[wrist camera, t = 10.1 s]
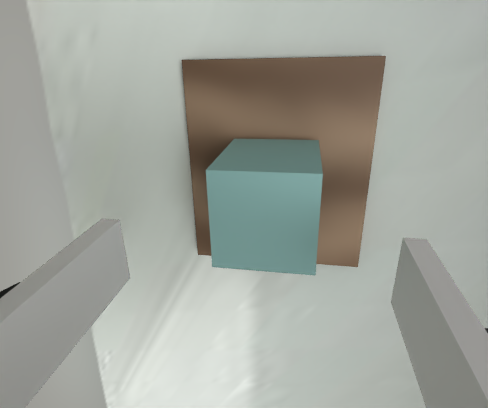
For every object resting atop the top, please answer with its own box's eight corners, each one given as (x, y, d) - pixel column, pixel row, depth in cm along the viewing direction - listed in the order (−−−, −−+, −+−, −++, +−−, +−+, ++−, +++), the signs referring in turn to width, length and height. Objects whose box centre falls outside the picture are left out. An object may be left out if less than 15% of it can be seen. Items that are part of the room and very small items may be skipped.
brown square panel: (186, 59, 22) (127, 61, 15) (383, 55, 20) (423, 55, 13) (201, 249, 27) (163, 316, 20) (356, 260, 25) (374, 339, 18)
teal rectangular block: (234, 138, 21) (205, 170, 15) (318, 140, 21) (323, 173, 15) (236, 213, 23) (212, 266, 18) (313, 217, 23) (315, 275, 17)
